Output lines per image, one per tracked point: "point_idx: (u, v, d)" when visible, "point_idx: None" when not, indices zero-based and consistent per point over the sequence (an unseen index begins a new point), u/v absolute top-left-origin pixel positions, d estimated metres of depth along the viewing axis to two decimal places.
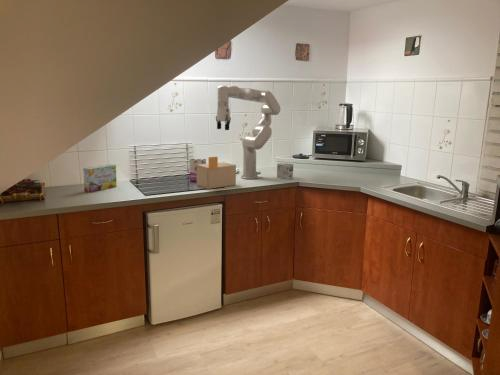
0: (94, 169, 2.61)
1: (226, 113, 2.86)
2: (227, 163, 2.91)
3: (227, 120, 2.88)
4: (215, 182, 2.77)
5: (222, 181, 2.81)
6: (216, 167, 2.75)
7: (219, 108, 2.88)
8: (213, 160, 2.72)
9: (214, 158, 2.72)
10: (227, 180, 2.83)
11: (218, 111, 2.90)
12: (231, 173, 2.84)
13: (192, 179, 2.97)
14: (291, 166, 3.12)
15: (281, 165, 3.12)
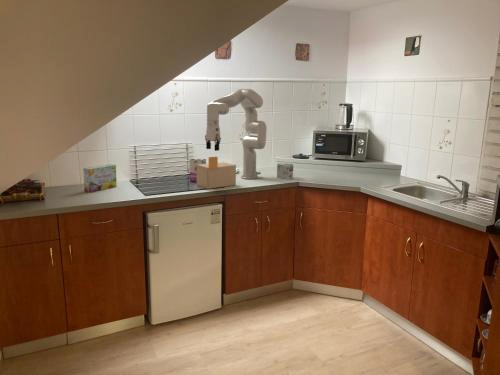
0: (94, 169, 2.61)
1: (216, 132, 2.65)
2: (227, 163, 2.91)
3: (217, 140, 2.67)
4: (215, 182, 2.77)
5: (222, 181, 2.81)
6: (216, 167, 2.75)
7: (208, 126, 2.67)
8: (213, 160, 2.72)
9: (214, 158, 2.72)
10: (227, 180, 2.83)
11: (207, 130, 2.69)
12: (231, 173, 2.84)
13: (192, 179, 2.97)
14: (291, 166, 3.12)
15: (281, 165, 3.12)
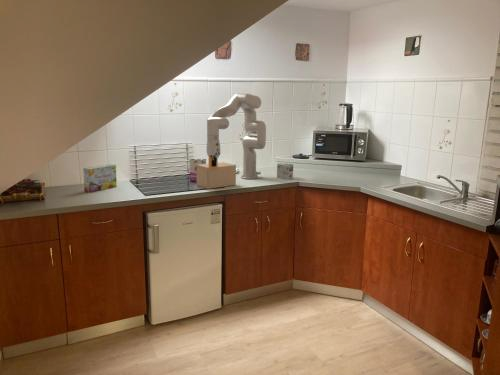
0: (94, 169, 2.61)
1: (216, 147, 2.67)
2: (227, 163, 2.91)
3: None
4: (215, 182, 2.77)
5: (222, 181, 2.81)
6: (216, 167, 2.75)
7: (209, 141, 2.69)
8: None
9: None
10: (227, 180, 2.83)
11: (208, 145, 2.71)
12: (231, 173, 2.84)
13: (192, 179, 2.97)
14: (291, 166, 3.12)
15: (281, 165, 3.12)
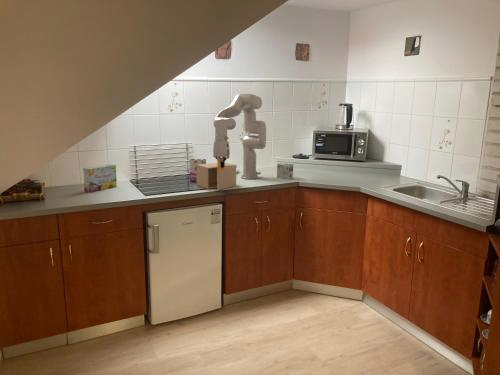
0: (94, 169, 2.61)
1: (227, 148, 2.64)
2: (227, 163, 2.91)
3: (224, 157, 2.67)
4: (222, 184, 2.74)
5: (227, 182, 2.78)
6: (223, 168, 2.71)
7: (218, 142, 2.64)
8: (221, 161, 2.68)
9: None
10: (230, 180, 2.81)
11: (216, 146, 2.66)
12: (233, 173, 2.83)
13: (192, 179, 2.97)
14: (291, 166, 3.12)
15: (281, 165, 3.12)
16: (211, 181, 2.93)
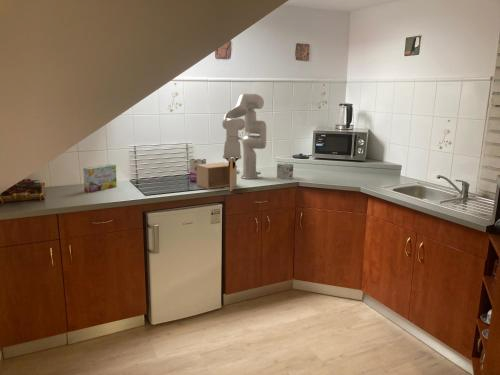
0: (94, 169, 2.61)
1: (239, 148, 2.64)
2: (227, 163, 2.91)
3: (235, 157, 2.66)
4: (232, 184, 2.72)
5: (233, 182, 2.77)
6: (233, 169, 2.70)
7: (230, 143, 2.62)
8: None
9: (233, 160, 2.67)
10: (234, 181, 2.81)
11: (228, 147, 2.63)
12: (235, 173, 2.83)
13: (192, 179, 2.97)
14: (291, 166, 3.12)
15: (281, 165, 3.12)
16: (211, 181, 2.93)
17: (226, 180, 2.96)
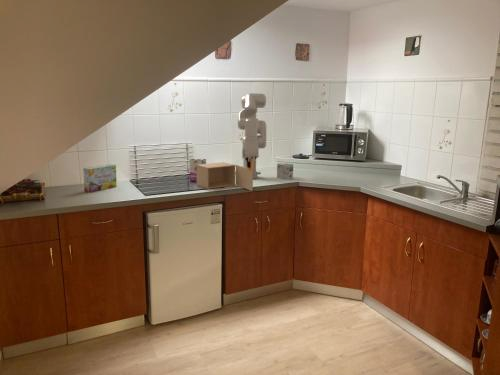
0: (94, 169, 2.61)
1: None
2: (227, 163, 2.91)
3: None
4: None
5: None
6: None
7: (251, 143, 2.65)
8: None
9: None
10: None
11: (249, 146, 2.65)
12: None
13: (192, 179, 2.97)
14: (291, 166, 3.12)
15: (281, 165, 3.12)
16: (211, 181, 2.93)
17: (226, 180, 2.96)
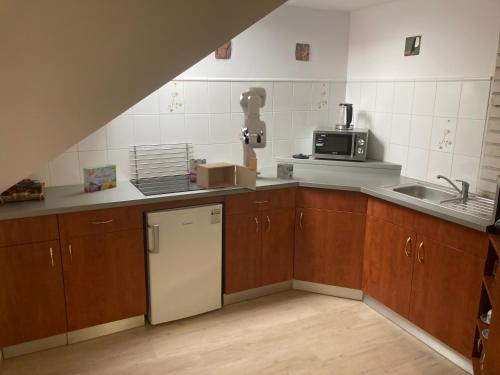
0: (94, 169, 2.61)
1: None
2: (227, 163, 2.91)
3: None
4: None
5: None
6: None
7: (254, 120, 2.64)
8: None
9: None
10: None
11: (252, 124, 2.64)
12: None
13: (192, 179, 2.97)
14: (291, 166, 3.12)
15: (281, 165, 3.12)
16: (211, 181, 2.93)
17: (226, 180, 2.96)
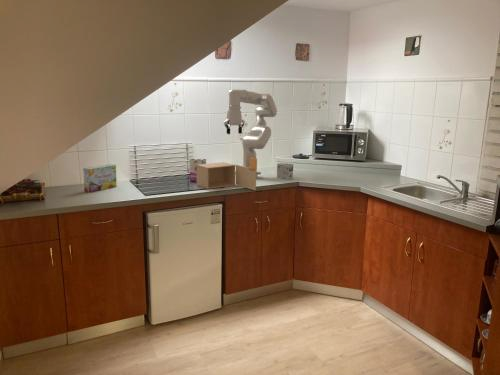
0: (94, 169, 2.61)
1: None
2: (227, 163, 2.91)
3: None
4: None
5: None
6: None
7: (235, 112, 2.84)
8: None
9: None
10: None
11: (233, 115, 2.84)
12: None
13: (192, 179, 2.97)
14: (291, 166, 3.12)
15: (281, 165, 3.12)
16: (211, 181, 2.93)
17: (226, 180, 2.96)
